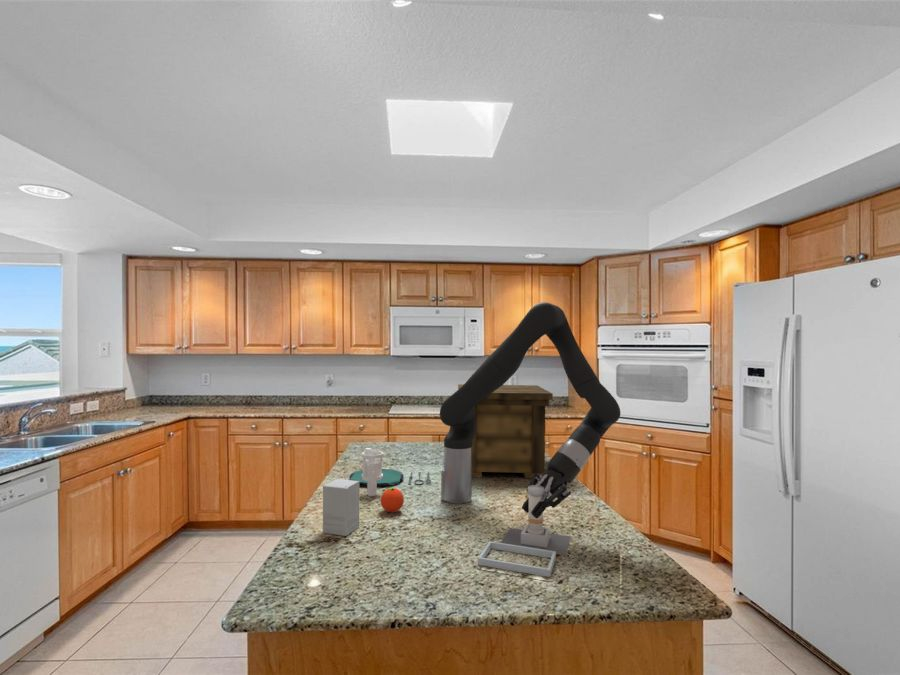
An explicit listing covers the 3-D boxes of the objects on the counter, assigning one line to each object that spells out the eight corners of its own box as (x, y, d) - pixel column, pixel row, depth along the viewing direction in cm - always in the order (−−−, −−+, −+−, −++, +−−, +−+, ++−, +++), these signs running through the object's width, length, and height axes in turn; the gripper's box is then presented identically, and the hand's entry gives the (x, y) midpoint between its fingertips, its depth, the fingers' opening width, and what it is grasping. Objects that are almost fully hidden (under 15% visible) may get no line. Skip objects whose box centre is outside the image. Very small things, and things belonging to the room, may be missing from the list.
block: (499, 549, 119) (499, 534, 119) (509, 532, 131) (509, 518, 131) (565, 560, 114) (565, 544, 114) (570, 541, 125) (570, 526, 125)
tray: (477, 569, 109) (477, 558, 109) (489, 551, 118) (489, 541, 118) (549, 582, 103) (550, 570, 103) (555, 562, 113) (556, 551, 113)
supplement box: (360, 526, 133) (360, 480, 133) (345, 537, 126) (346, 488, 126) (336, 523, 136) (337, 478, 136) (321, 533, 129) (322, 485, 129)
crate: (457, 458, 215) (458, 384, 215) (536, 459, 215) (537, 385, 215) (457, 480, 180) (458, 392, 180) (551, 481, 180) (552, 393, 180)
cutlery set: (353, 473, 188) (353, 467, 188) (430, 474, 189) (431, 468, 189) (344, 489, 168) (344, 482, 168) (430, 490, 170) (431, 484, 170)
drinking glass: (374, 490, 166) (375, 446, 167) (386, 494, 161) (387, 449, 162) (357, 494, 162) (357, 449, 162) (369, 499, 157) (370, 452, 157)
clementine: (373, 510, 146) (373, 487, 146) (391, 505, 151) (391, 482, 151) (390, 517, 141) (391, 492, 141) (408, 511, 146) (408, 487, 146)
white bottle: (526, 536, 121) (526, 488, 121) (529, 530, 125) (529, 484, 125) (542, 539, 120) (542, 490, 120) (544, 533, 124) (545, 486, 124)
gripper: (544, 445, 132) (505, 495, 127) (578, 457, 119) (536, 513, 114) (560, 463, 134) (522, 513, 129) (595, 476, 121) (554, 532, 116)
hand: (529, 513), depth 122 cm, fingers closed on white bottle, 3 cm apart
